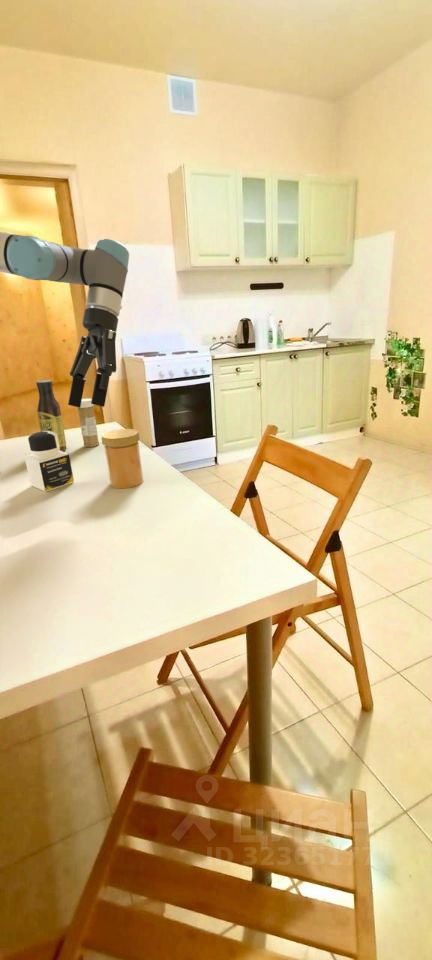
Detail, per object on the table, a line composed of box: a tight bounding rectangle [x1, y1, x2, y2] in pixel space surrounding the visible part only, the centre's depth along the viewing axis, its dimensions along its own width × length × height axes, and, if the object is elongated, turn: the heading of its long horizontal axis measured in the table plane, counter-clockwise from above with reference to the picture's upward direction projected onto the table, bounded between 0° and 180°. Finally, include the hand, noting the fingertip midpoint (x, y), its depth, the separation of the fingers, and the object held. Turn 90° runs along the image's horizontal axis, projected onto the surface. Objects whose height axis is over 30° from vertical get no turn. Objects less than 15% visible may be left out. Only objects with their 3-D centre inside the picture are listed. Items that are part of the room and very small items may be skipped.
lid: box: [101, 428, 140, 447], centre depth 96 cm, size 8×8×2 cm
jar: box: [104, 441, 144, 489], centre depth 98 cm, size 7×7×10 cm
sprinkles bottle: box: [77, 398, 100, 448], centre depth 129 cm, size 5×5×14 cm
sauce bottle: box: [36, 379, 67, 452], centre depth 124 cm, size 7×6×20 cm
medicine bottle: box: [24, 431, 75, 493], centre depth 100 cm, size 7×7×12 cm
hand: (85, 405), depth 101 cm, fingers open, 13 cm apart
